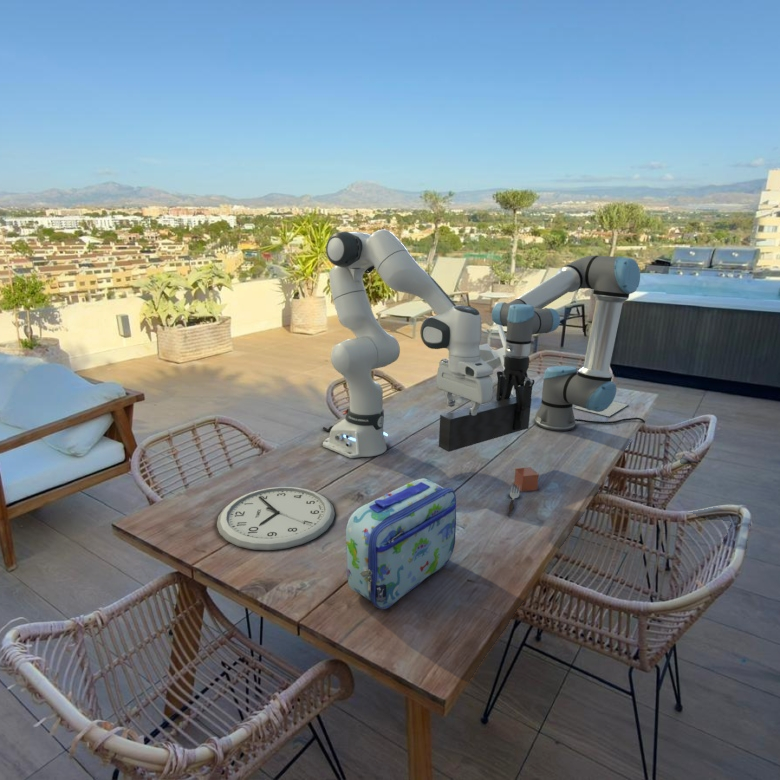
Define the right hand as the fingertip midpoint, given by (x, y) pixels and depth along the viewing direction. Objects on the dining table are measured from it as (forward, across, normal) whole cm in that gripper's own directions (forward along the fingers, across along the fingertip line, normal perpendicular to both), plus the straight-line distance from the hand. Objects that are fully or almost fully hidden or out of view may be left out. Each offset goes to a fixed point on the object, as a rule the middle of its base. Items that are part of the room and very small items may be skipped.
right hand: (510, 426), depth 167 cm
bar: (+1, 0, -11) cm, 11 cm away
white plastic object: (+13, -60, +46) cm, 77 cm away
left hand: (-10, 0, -22) cm, 24 cm away
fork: (+13, +20, -19) cm, 30 cm away
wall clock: (+12, -10, -76) cm, 78 cm away
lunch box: (+12, +29, -64) cm, 71 cm away
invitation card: (+13, -17, +76) cm, 79 cm away
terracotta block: (+13, +15, -8) cm, 21 cm away
